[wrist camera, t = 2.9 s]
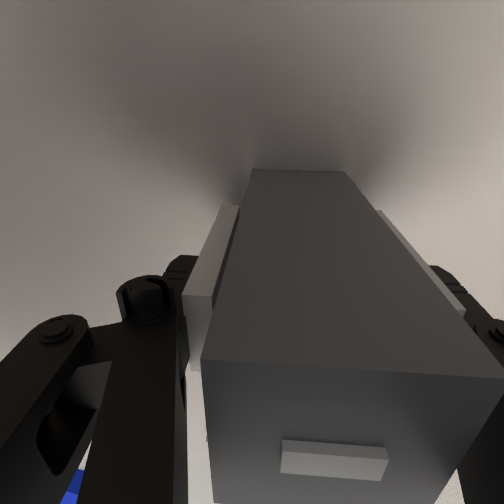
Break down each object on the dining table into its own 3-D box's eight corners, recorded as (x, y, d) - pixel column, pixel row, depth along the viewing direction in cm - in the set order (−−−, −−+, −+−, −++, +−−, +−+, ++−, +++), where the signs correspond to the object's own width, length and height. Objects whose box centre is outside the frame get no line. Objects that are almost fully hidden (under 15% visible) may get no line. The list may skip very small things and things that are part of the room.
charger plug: (251, 249, 17) (212, 514, 7) (252, 169, 15) (196, 369, 4) (331, 252, 17) (426, 534, 6) (344, 172, 15) (522, 391, 4)
